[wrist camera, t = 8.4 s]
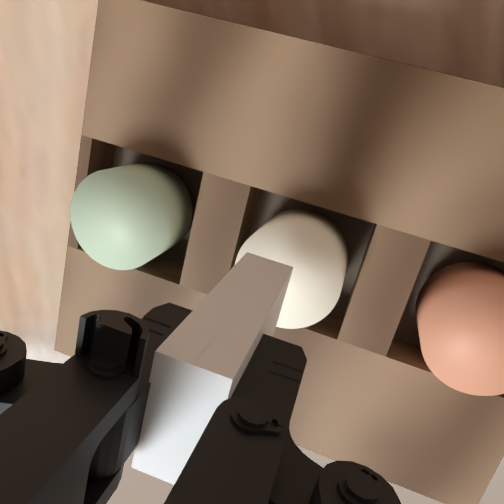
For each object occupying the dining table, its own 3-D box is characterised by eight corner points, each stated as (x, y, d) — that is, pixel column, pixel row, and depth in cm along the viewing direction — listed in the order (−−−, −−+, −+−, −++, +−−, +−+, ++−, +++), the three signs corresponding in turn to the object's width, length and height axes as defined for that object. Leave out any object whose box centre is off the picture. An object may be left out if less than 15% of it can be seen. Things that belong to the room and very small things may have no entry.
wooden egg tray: (89, 325, 26) (54, 349, 23) (137, 6, 21) (99, -10, 18) (461, 465, 23) (472, 514, 20) (628, 127, 18) (674, 129, 15)
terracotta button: (401, 336, 20) (404, 372, 17) (436, 248, 19) (445, 271, 16) (499, 369, 19) (519, 412, 17) (543, 280, 18) (572, 310, 15)
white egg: (244, 283, 21) (223, 308, 19) (267, 196, 20) (248, 209, 17) (332, 312, 21) (323, 343, 18) (361, 225, 19) (357, 244, 17)
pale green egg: (104, 235, 23) (64, 252, 20) (117, 151, 21) (76, 156, 18) (182, 261, 22) (153, 283, 19) (200, 176, 21) (171, 186, 18)
